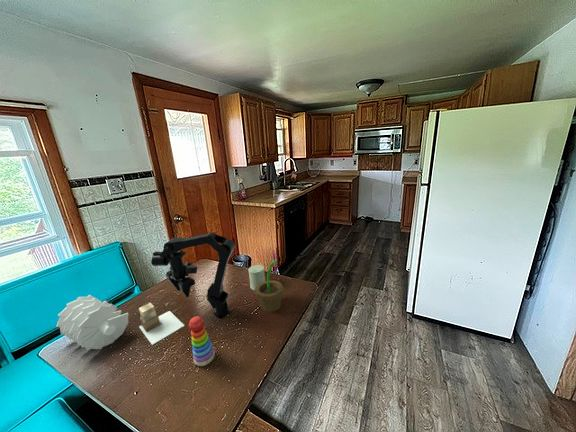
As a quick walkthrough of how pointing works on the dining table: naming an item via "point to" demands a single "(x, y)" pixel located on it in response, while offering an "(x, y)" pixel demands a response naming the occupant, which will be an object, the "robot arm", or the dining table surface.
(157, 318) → the walnut block
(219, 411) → the dining table surface
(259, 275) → the can
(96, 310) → the spiral staircase
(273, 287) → the flowerpot
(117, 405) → the dining table surface
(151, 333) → the white board
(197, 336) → the stacking toy
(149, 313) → the maple cube
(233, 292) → the dining table surface
